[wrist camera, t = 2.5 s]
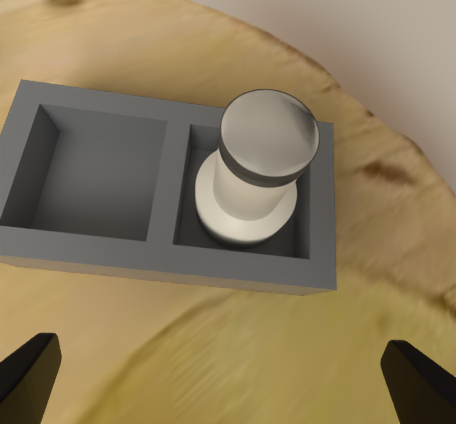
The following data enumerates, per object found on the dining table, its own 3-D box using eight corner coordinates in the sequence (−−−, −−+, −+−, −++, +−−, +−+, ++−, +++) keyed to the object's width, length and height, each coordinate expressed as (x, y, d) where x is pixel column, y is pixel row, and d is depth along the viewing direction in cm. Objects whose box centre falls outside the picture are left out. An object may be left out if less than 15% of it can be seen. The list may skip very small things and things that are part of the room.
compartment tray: (304, 162, 25) (332, 123, 20) (303, 295, 22) (336, 290, 17) (58, 130, 24) (21, 79, 19) (16, 266, 21) (-43, 250, 16)
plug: (301, 212, 21) (371, 145, 13) (234, 267, 20) (265, 232, 11) (244, 150, 22) (275, 49, 14) (176, 197, 21) (165, 116, 12)
